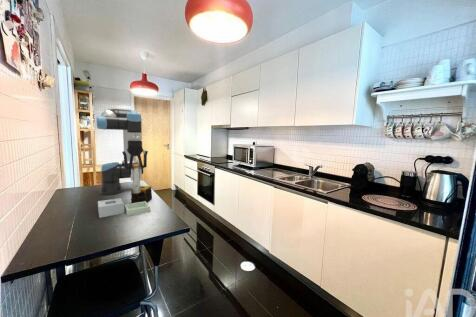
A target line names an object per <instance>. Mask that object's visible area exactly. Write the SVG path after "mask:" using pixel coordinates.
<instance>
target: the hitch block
mask: <svg viewBox="0 0 476 317" xmlns="http://www.w3.org/2000/svg"><path fill="white" fill-rule="evenodd" d="M124 205H125V203H124V201H123V200H122V198H121V197H119V198H112V199H111V198H110V199H105V200H104V199H103V200H98V201H97V211H98V218H99V219H100V218H106V217H112V216H117V215H123V214H125V208H124Z"/></svg>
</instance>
